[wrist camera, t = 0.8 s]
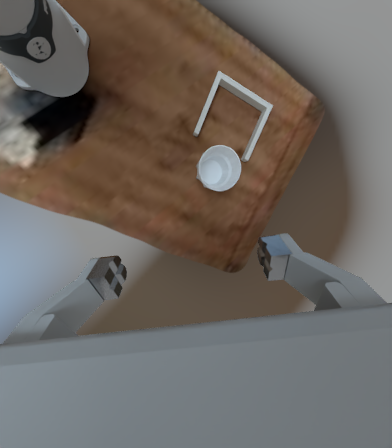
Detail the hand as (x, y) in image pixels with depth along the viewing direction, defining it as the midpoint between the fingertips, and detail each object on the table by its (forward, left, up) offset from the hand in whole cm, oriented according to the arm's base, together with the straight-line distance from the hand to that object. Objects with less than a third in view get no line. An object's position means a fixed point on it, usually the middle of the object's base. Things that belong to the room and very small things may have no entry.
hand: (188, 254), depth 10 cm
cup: (0, +14, -40) cm, 42 cm away
